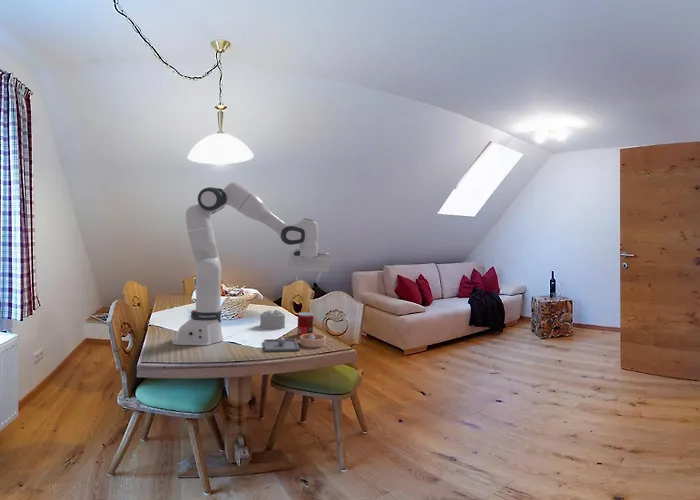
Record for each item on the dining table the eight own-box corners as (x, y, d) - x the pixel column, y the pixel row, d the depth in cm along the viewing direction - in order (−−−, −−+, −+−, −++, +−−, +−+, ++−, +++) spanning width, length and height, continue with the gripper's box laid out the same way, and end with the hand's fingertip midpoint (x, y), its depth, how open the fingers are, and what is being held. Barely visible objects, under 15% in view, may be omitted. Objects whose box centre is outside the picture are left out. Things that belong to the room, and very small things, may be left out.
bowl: (301, 347, 189) (301, 340, 189) (298, 340, 201) (298, 333, 201) (327, 347, 192) (327, 339, 192) (323, 340, 204) (323, 333, 203)
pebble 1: (277, 346, 188) (277, 338, 188) (277, 344, 192) (277, 336, 192) (285, 345, 189) (285, 338, 189) (284, 343, 193) (284, 336, 192)
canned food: (310, 337, 208) (311, 315, 207) (295, 336, 210) (295, 314, 209) (314, 333, 216) (315, 312, 215) (300, 332, 217) (300, 311, 217)
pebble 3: (309, 343, 196) (306, 338, 195) (315, 339, 196) (312, 334, 195) (310, 346, 192) (307, 341, 191) (317, 343, 193) (313, 337, 192)
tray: (264, 351, 181) (265, 349, 181) (263, 342, 197) (264, 339, 196) (299, 350, 184) (299, 348, 184) (295, 341, 200) (295, 338, 200)
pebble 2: (308, 341, 199) (307, 334, 199) (315, 340, 200) (314, 333, 199) (309, 343, 196) (308, 336, 195) (316, 342, 196) (315, 335, 196)
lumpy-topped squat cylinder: (267, 323, 234) (268, 308, 234) (288, 326, 230) (288, 310, 230) (258, 327, 225) (258, 311, 224) (279, 330, 221) (280, 314, 220)
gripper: (328, 252, 206) (327, 280, 207) (287, 251, 201) (286, 279, 202) (330, 253, 200) (329, 281, 201) (288, 252, 195) (287, 281, 196)
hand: (307, 280), depth 201 cm, fingers open, 8 cm apart
